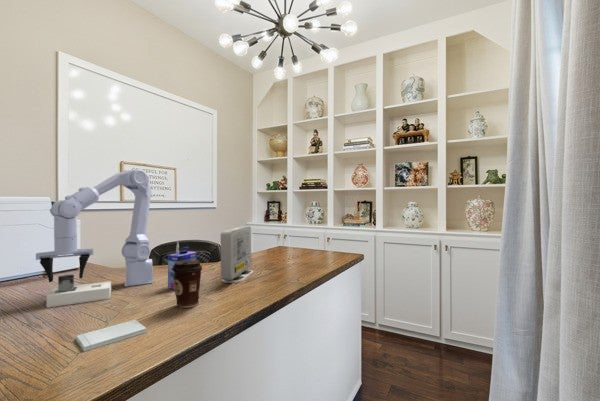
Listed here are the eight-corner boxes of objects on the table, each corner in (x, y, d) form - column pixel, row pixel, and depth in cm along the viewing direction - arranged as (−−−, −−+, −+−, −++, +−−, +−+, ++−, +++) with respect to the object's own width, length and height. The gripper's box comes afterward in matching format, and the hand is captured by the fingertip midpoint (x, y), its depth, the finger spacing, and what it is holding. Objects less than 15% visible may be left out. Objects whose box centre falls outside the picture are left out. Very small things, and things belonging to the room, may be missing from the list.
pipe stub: (75, 297, 99) (75, 273, 99) (72, 301, 96) (72, 276, 96) (60, 299, 97) (59, 275, 97) (57, 303, 94) (56, 278, 94)
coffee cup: (173, 311, 85) (172, 266, 85) (170, 303, 92) (170, 261, 92) (204, 306, 89) (204, 262, 89) (200, 298, 96) (199, 258, 97)
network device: (238, 269, 138) (238, 226, 138) (257, 269, 136) (256, 226, 136) (215, 285, 112) (214, 231, 112) (237, 285, 111) (237, 231, 111)
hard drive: (134, 319, 77) (75, 334, 68) (146, 327, 72) (83, 346, 63) (134, 325, 77) (75, 341, 68) (146, 334, 72) (83, 354, 63)
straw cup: (178, 290, 106) (178, 249, 106) (166, 288, 108) (166, 248, 108) (197, 283, 115) (197, 245, 115) (186, 281, 117) (186, 244, 117)
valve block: (111, 290, 106) (111, 281, 106) (109, 298, 98) (109, 287, 98) (53, 298, 99) (53, 288, 99) (46, 307, 90) (46, 296, 90)
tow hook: (178, 264, 153) (168, 267, 144) (179, 239, 154) (168, 240, 145) (194, 264, 152) (184, 268, 143) (194, 239, 153) (184, 240, 144)
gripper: (94, 234, 103) (94, 273, 103) (39, 237, 96) (40, 280, 96) (92, 236, 97) (92, 278, 97) (33, 240, 90) (34, 285, 90)
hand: (66, 279), depth 96 cm, fingers open, 7 cm apart
